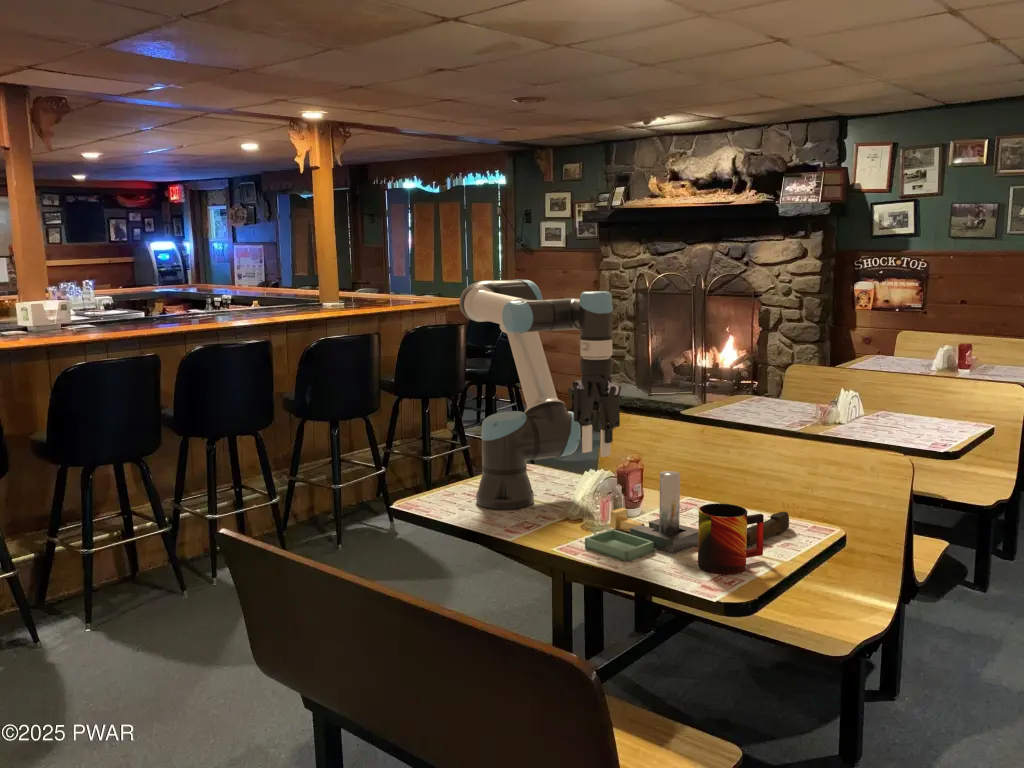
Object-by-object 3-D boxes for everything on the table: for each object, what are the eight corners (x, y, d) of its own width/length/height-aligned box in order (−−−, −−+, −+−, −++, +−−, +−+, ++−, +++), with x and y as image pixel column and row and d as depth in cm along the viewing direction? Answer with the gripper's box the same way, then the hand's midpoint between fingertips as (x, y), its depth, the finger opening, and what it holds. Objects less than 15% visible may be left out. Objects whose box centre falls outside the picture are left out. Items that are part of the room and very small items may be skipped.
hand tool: (748, 550, 181) (748, 529, 181) (733, 545, 185) (733, 525, 184) (798, 532, 193) (799, 512, 192) (783, 528, 196) (784, 508, 195)
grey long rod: (655, 543, 186) (655, 473, 184) (667, 538, 189) (668, 470, 186) (670, 548, 183) (671, 477, 180) (683, 543, 186) (684, 473, 183)
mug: (763, 560, 175) (765, 504, 173) (732, 579, 165) (733, 520, 163) (721, 549, 181) (722, 496, 180) (688, 567, 171) (689, 511, 169)
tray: (584, 547, 184) (584, 538, 184) (612, 538, 190) (612, 529, 189) (626, 561, 175) (626, 551, 175) (653, 551, 181) (654, 541, 180)
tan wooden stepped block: (610, 528, 196) (610, 511, 195) (621, 524, 199) (621, 507, 198) (635, 535, 190) (635, 518, 190) (646, 531, 193) (646, 514, 192)
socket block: (630, 541, 188) (630, 528, 187) (658, 531, 194) (658, 518, 194) (673, 554, 179) (673, 541, 178) (701, 543, 185) (701, 530, 185)
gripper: (557, 355, 201) (558, 450, 204) (614, 362, 187) (614, 463, 190) (579, 353, 205) (579, 445, 209) (636, 359, 192) (636, 457, 195)
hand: (596, 453), depth 200 cm, fingers open, 5 cm apart
